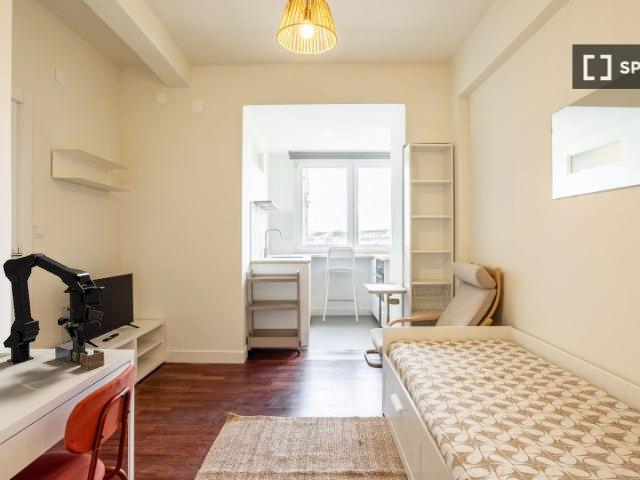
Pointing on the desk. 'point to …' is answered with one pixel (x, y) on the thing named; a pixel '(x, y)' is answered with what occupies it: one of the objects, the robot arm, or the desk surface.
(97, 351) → the socket
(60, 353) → the sleeve
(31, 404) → the desk surface
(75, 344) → the slider
